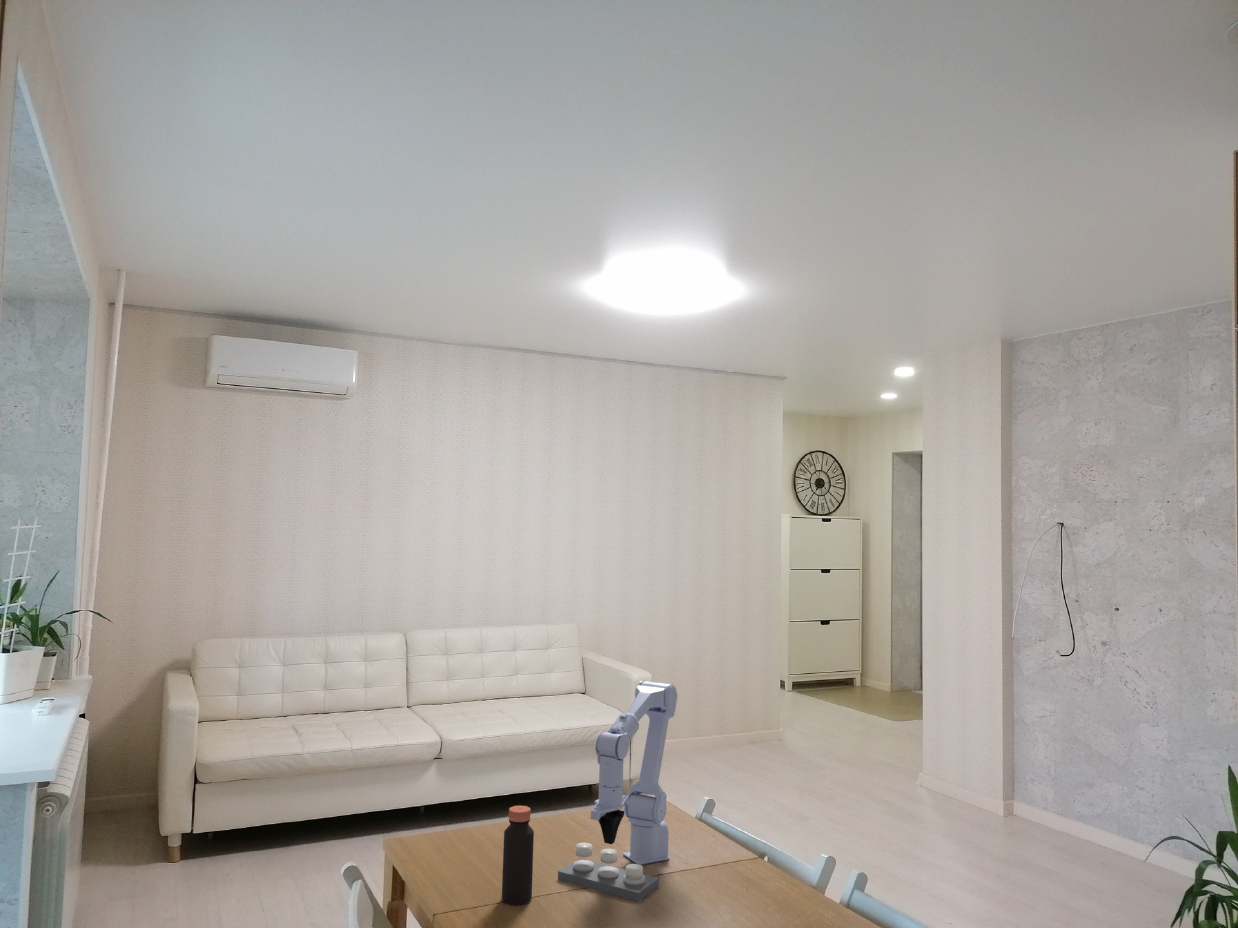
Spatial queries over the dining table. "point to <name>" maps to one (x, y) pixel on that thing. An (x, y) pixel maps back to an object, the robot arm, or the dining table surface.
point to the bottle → (518, 857)
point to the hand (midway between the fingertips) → (609, 842)
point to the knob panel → (607, 879)
